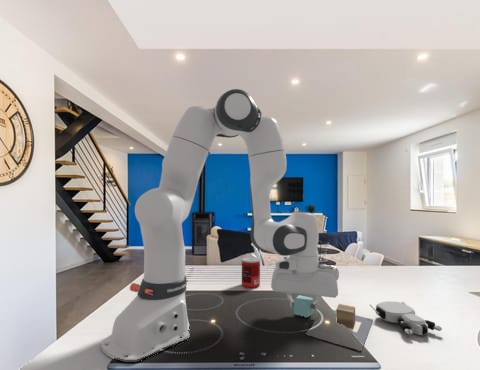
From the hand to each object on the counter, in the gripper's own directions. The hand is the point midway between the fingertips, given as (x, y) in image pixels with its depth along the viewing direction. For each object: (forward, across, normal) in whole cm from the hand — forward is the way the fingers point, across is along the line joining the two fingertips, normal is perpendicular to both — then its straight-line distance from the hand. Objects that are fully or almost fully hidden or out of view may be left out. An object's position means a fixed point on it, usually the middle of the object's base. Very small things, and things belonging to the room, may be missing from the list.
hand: (303, 307), depth 83 cm
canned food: (+3, +22, -24) cm, 32 cm away
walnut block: (+2, -12, +3) cm, 13 cm away
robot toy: (+3, -28, -2) cm, 29 cm away
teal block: (+2, 0, 0) cm, 2 cm away
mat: (+2, -10, +5) cm, 12 cm away
